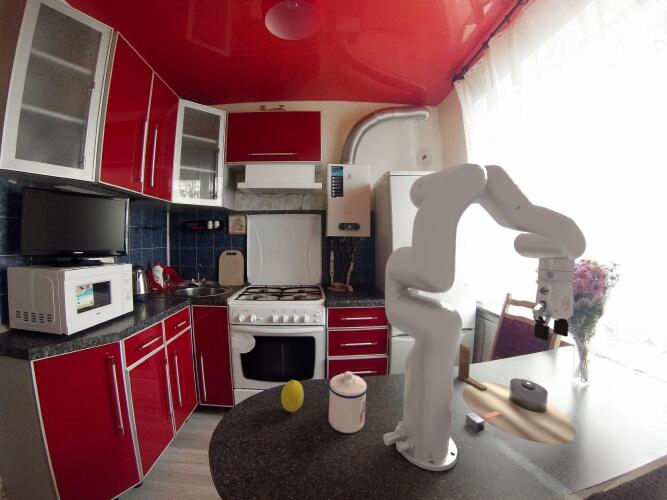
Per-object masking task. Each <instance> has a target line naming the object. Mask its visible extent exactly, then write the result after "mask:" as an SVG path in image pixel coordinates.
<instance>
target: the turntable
mask: <svg viewBox="0 0 667 500" xmlns="http://www.w3.org/2000/svg"><path fill="white" fill-rule="evenodd" d="M471 346H472V345H469V344H468V343H460V344H459V354H458V355H459V357H458V358H459V359H458V374H457V375H458V376H457V377H458V379H459V380H462V381H464V382H466V383H468V385H466V386H465V387H464V389H463V391H462V397H463V400H464V402H465V403H466V405H467V406H468V407H469V409H470V410H471V411H472V412H473V413H475V414H476V415H478V416H479V417H480V418H482V419H483V420H485V421H486V422H487V423H488V424H491V425H492V426H493V427H495V428H498V429H499V430H502V431H503V432H505V433H508V434H510V435H512V436H515V437H519V438H521V439H524V440H527V441H530V442H531V441H532V442H536V443H541V444H547V445H563V444H567V443H570V442H571V441H573V440H574V439H575V437H576V434H577V432H576V428H575V426H574V424H573V423H572V421H571V420H570V419H569V417H568V416H566V415H565V414H564V413H563V412H562V411H561V410H560V409H558V408H557V407H555V406H554V405H552V404H551V403H549V402H547V409H546V412H543V413H537V412H532V411H528V410H526V409H523V408H521V407H519V406H517V405H516V404H514V403H513V402H512V401H511V400H510V398H509V393H510V385H506V384H500V383H494V382H485V381H483V382H481V381H480V382H478V381H477V380H475V379H473V378H472V377H470V363H471V351H472V349H471V348H472V347H471ZM485 421H484V422H485Z"/></svg>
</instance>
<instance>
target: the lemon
mask: <svg viewBox="0 0 667 500" xmlns="http://www.w3.org/2000/svg"><path fill="white" fill-rule="evenodd" d="M281 390H282V391H281V395H280V401H281V405H282V407H283V409H284V410H285V411H287V412H290V413H294V412H296V411H297V410H299V409H300V407H302V405H303V402H304V398H305V397H304V396H305V394H304V388H303V385H302V384H301V382H299V381H298V380H294V379H291V380H289V381H287V382H286V383H285V384H284V386H283V388H282V389H281Z"/></svg>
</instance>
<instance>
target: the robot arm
mask: <svg viewBox="0 0 667 500" xmlns="http://www.w3.org/2000/svg"><path fill="white" fill-rule="evenodd" d="M409 198H410V201H411V203H412V204H413V206H414V207H415V208H416V209H417V211H416V214H415V216H414V219H413V224H412V236H411V246H409V245H408V246H401V247H399V248H396V249H395V250H394V251H392V253H391V254H390V255H389V256H388V257H389V258H388V259H387V262H386V265H385V273H384V275H385V276H384V278H385V279H384V281H385V284H384V285H385V286H384V287H385V288H384V300H385V301H384V303H385V304H384V308H385V315H386V319H387V321H388V323H389V324H390V325H391V326H392V327H394V328H395V329H397V330H399V331H400V332H402V333H404V334H406V335H408V336H409V337H411V338H412V339H413V340H414V344H413V345H412V347H411V348H410V350H409V352H407V355H406V359H405V369H404V370H405V373H404V390H403V392H404V393H403V408H402V409H403V410H402V420H399V421H398V424H397V426H396V428H395V430H394V431H393V432H392V431H390V432H386V433H384V434H383V435H382V436H383V437H382V438H383V442H384V444H385V445H386V446H390V445H393V444H395V445H396V450H397V451H398V452H399V453H400V454H401V455H402V456H403V457H404V458H405V459H406V460H407V461H409V462H410V463H412V465H416V466H418V467H419V468H421V469H424V470H427V471H433V472H443V471H447V470H449V469H451V468H453V467H454V466H455V465H456V463H457V462H458V461H457V460H458V448H457V445H456V443H455V441H454V439H452V437H451V427H452V425H451V423H452V422H451V421H452V408H453V407H452V406H453V391H454V373H455V363H456V362H455V361H456V356H457V355H456V354H457V349H458V346H459V343H460V339H461V335H462V332H463V319H462V316H461V314H460V313H459V311H458V310H456V309H457V308H455V307H453V306H452V305H451V304H449V303H447V302H445V301H443V300H440V299H436V298H435V297H434V298H433V297H430V296H426V295H422V294H419V291H421V292H425V293H429V294H437V295H438V294H445V293H448V291H450V289H452V287H453V285H454V282H455V275H456V257H457V256H456V255H457V254H456V252H457V251H456V249H457V234H458V233H457V232H458V225H459V222H460V220H461V217H462V216H463V214H464V213H465V211H466V210H467V209H468V208H469V207H470V206H471V205H472V204H478V205H480V206H481V207H482V208H483V209H484V210H485V211H486V212H487V214H488V215H489V216H490V217H491V218H492V219H493V220H494V221H495V223H497V224H498V226H501V227H503V228H506V229H509V230H513V231H515V232H516V231H517V232H520V233H519V234H518V235H517V236H516V237H515V238H514V241H513V248H514V251H515V252H516V253H517V254H518V255H520V256H522V257H524V258H530V259H538V269H537V270H538V271H537V281H538V284H537V288H536V295H535V307H533V309H532V311H531V313H532V317H533V323H534V331H533V333H534V335H533V336H534V337H535V338H536V339H540V340H543V341H545V342H546V341H549V339H550V326H549V323H550V321H551V320H554V321H553V334H556V335H559V336H562V337H565V338H566V337H568V336H569V327H570V325H569V323H570V321H571V319H570V318H571V317H573V316H574V305H575V303H574V298H575V296H574V285H573V284H574V279H575V276H574V275H575V263H576V260H577V259H579V258H581V257H582V256H583V255H584V253H585V252H586V248H587V242H586V238H585V235H584V234H583V232H582V230H581V229H580V227H579V226H578V224H577V223H576V222H575V220H574V219H573V218H571V217H570V216H569V215H567V214H565V213H563V212H561V211H559V210H556V209H554V208H551V207H549V206H547V205H544V204H541V203H538V202H535V201H533V200H532V198H530V197H529V195H528V194H527V192H525V190H524V189H523V188H522V187H521V185H520V183H518V181H517V180H516V179H515V178H514V176H513V175H512V174H511V172H510V171H509V170H508V169H507V168H506V167H505V166H503V165H501V164H497V163H488V164H485V165H484V164H483V165H482V164H480V163H478V162H463V163H461V164H456V165H453V166H449V167H445V168H443V169H439V170H438V171H435V172H431V173H428V174H423V175H422V176H420V177H418V178H417V179H415V181H414V182H413V184H411V187H410V190H409Z"/></svg>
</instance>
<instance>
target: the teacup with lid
mask: <svg viewBox="0 0 667 500" xmlns="http://www.w3.org/2000/svg"><path fill="white" fill-rule="evenodd" d="M328 387H329V399H328V400H329V403H328V404H329V405H328V422H329V424H330V426H331V428H333V429H335V431H338V432H340V433H346V434H353V433H356V432H358V431H360V430H361V429H362V428H363V427H364V424H365V420H366V419H365V418H366V416H365V415H366V400H367V399H366V398H367V397H366V394H367V391H368V385H367V383H366V381H365V380H364V379H363V378H362V377H360V376H359V375H356V374H353V372H352V371H350V370H349V371H345V372H344V373H340V374H338V375H334V376H333V377H332V378H331V379H330V381H329V384H328Z"/></svg>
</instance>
